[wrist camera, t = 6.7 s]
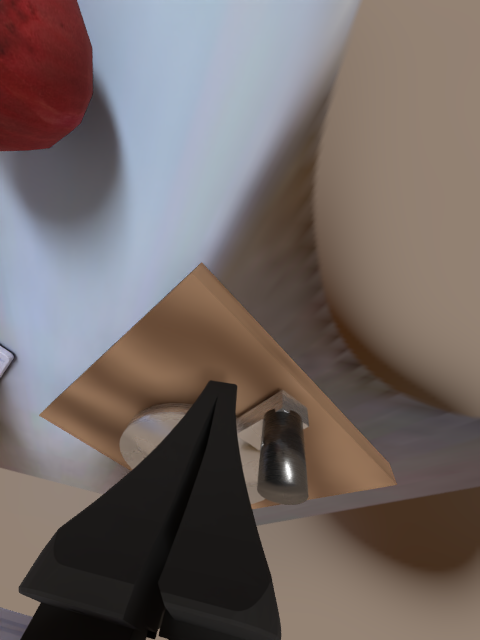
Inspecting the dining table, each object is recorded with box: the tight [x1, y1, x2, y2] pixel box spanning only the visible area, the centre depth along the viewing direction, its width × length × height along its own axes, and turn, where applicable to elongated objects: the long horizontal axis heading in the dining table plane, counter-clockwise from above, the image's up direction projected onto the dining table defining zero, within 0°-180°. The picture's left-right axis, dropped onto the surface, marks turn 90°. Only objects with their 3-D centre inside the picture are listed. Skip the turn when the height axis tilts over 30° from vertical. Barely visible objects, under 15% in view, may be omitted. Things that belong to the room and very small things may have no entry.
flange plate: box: [119, 390, 309, 505], centre depth 15 cm, size 16×12×4 cm
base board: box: [39, 263, 397, 509], centre depth 18 cm, size 21×21×5 cm
